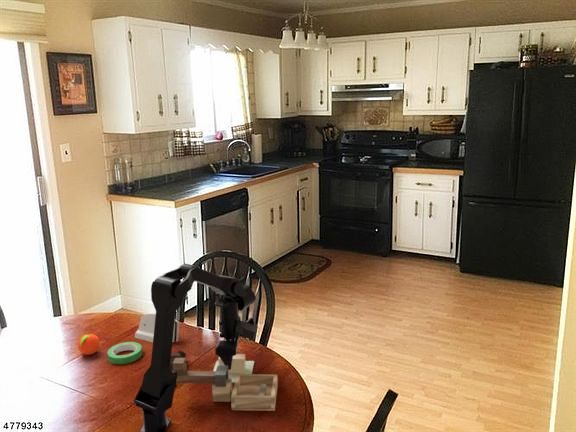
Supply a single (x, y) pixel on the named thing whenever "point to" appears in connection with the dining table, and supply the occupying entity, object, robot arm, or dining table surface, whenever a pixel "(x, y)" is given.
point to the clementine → (88, 344)
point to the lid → (237, 366)
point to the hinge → (152, 328)
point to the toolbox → (245, 390)
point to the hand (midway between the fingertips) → (231, 361)
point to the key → (191, 373)
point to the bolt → (177, 355)
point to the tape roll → (124, 358)
